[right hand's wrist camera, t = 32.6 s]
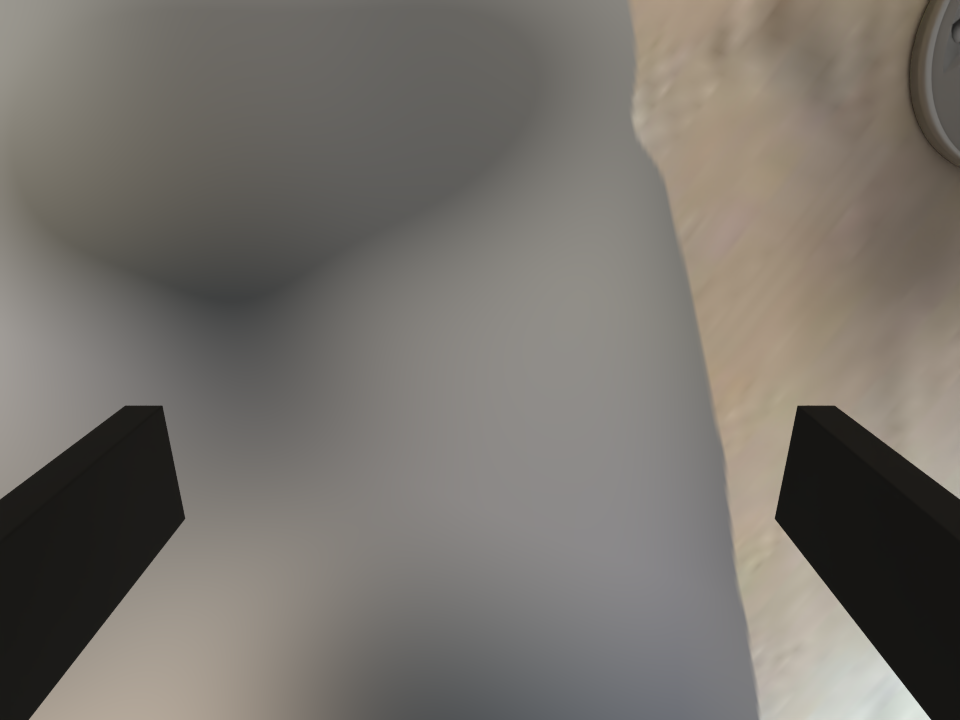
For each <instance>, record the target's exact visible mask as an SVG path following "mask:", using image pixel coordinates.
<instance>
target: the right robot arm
mask: <svg viewBox="0 0 960 720" xmlns="http://www.w3.org/2000/svg"><path fill="white" fill-rule="evenodd" d="M910 91H911V98H912V104H913V108H914V112H915V115H916V118H917V121H918V123H919V126H920V128H921V130H922V132H923V134H924V135H925V137H926V138H927V140H928V141H929V143H930V144H931V145H932V146H933V147H934V148H935V150H936V151H937V152H938V153H940V154H941V155H942V156H943V157H944V158H945V159H947V160H948V161H950V162H951V163H953V164H955V165H956V166H958V167H960V0H930V2H929V4H928V6H927V8H926V10H925V13H924V15H923V17H922V20H921V22H920V25H919V28H918V31H917V35H916V38H915V42H914V47H913V51H912V58H911V67H910ZM184 519H185V515H184V510H183V506H182V501H181V496H180V491H179V486H178V481H177V476H176V471H175V466H174V461H173V456H172V451H171V446H170V441H169V436H168V431H167V426H166V422H165V416H164V412H163V406H124V407H123V408H122V409H120V410H119V411H118V412H116V413H115V414H114V415H112V416H111V417H110V418H108V419H107V420H106V421H104V422H103V423H102V424H100V425H99V426H98V427H96V428H95V429H94V430H92V431H91V432H90V433H88V434H87V435H86V436H84V437H83V438H82V439H80V440H79V441H78V442H76V443H75V444H74V445H72V446H71V447H70V448H68V449H67V450H66V451H64V452H63V453H62V454H60V455H59V456H58V457H56V458H55V459H54V460H52V461H51V462H50V463H48V464H47V465H46V466H44V467H43V468H42V469H40V470H39V471H38V472H36V473H35V474H34V475H32V476H31V477H30V478H28V479H27V480H26V481H24V482H23V483H22V484H20V485H19V486H18V487H16V488H15V489H14V490H12V491H11V492H10V493H8V494H7V495H6V496H4V497H3V498H2V499H0V720H29V719H30V717H31V716H32V715H33V714H34V712H35V711H36V710H37V708H38V707H39V706H40V705H41V703H42V702H43V701H44V699H45V698H46V697H47V696H48V694H49V693H50V692H51V690H52V689H53V688H54V687H55V685H56V684H57V683H58V681H59V680H60V679H61V678H62V676H63V675H64V674H65V672H66V671H67V670H68V669H69V667H70V666H71V665H72V663H73V662H74V661H75V660H76V658H77V657H78V656H79V654H80V653H81V652H82V651H83V649H84V648H85V647H86V645H87V644H88V643H89V642H90V640H91V639H92V638H93V636H94V635H95V634H96V633H97V631H98V630H99V629H100V627H101V626H102V625H103V624H104V622H105V621H106V620H107V618H108V617H109V616H110V615H111V613H112V612H113V611H114V609H115V608H116V607H117V606H118V604H119V603H120V602H121V600H122V599H123V598H124V597H125V595H126V594H127V593H128V591H129V590H130V589H131V588H132V586H133V585H134V584H135V582H136V581H137V580H138V579H139V577H140V576H141V575H142V573H143V572H144V571H145V570H146V568H147V567H148V566H149V565H150V563H151V562H152V561H153V559H154V558H155V557H156V556H157V554H158V553H159V552H160V550H161V549H162V548H163V547H164V545H165V544H166V543H167V541H168V540H169V539H170V538H171V536H172V535H173V534H174V532H175V531H176V530H177V528H178V527H179V526H180V525H181V523H182V522H183V521H184ZM775 520H776V521H777V522H778V523H779V525H780V526H781V527H782V529H783V530H784V531H785V532H786V534H787V535H788V536H789V538H790V539H791V540H792V541H793V543H794V544H795V545H796V547H797V548H798V549H799V550H800V552H801V553H802V554H803V556H804V557H805V558H806V559H807V561H808V562H809V563H810V565H811V566H812V567H813V568H814V570H815V571H816V572H817V574H818V575H819V576H820V577H821V579H822V580H823V581H824V582H825V584H826V585H827V586H828V588H829V589H830V590H831V591H832V593H833V594H834V595H835V597H836V598H837V599H838V600H839V602H840V603H841V604H842V606H843V607H844V608H845V609H846V611H847V612H848V613H849V615H850V616H851V617H852V618H853V620H854V621H855V622H856V624H857V625H858V626H859V627H860V629H861V630H862V631H863V633H864V634H865V635H866V636H867V638H868V639H869V640H870V642H871V643H872V644H873V645H874V647H875V648H876V649H877V651H878V652H879V653H880V654H881V656H882V657H883V658H884V660H885V661H886V662H887V663H888V665H889V666H890V667H891V669H892V670H893V671H894V672H895V674H896V675H897V676H898V678H899V679H900V680H901V681H902V683H903V684H904V685H905V687H906V688H907V689H908V690H909V692H910V693H911V694H912V696H913V697H914V698H915V699H916V701H917V702H918V703H919V705H920V706H921V707H922V708H923V710H924V711H925V712H926V714H927V715H928V716H929V717H930V719H931V720H960V499H958V498H957V497H956V496H954V495H953V494H952V493H950V492H949V491H948V490H946V489H945V488H944V487H942V486H941V485H940V484H938V483H937V482H936V481H934V480H933V479H932V478H930V477H929V476H928V475H926V474H925V473H924V472H922V471H921V470H920V469H918V468H917V467H916V466H914V465H913V464H912V463H910V462H909V461H908V460H906V459H905V458H904V457H902V456H901V455H900V454H898V453H897V452H896V451H894V450H893V449H892V448H890V447H889V446H888V445H886V444H885V443H884V442H882V441H881V440H880V439H878V438H877V437H876V436H874V435H873V434H872V433H870V432H869V431H868V430H866V429H865V428H864V427H862V426H861V425H860V424H858V423H857V422H856V421H854V420H853V419H852V418H850V417H849V416H848V415H846V414H845V413H844V412H842V411H841V410H840V409H838V408H837V407H836V406H797V411H796V416H795V421H794V426H793V431H792V436H791V441H790V446H789V451H788V456H787V461H786V466H785V471H784V476H783V481H782V486H781V491H780V496H779V501H778V505H777V510H776V515H775Z"/></svg>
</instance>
